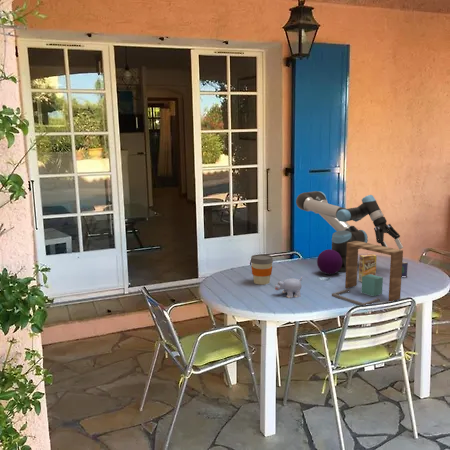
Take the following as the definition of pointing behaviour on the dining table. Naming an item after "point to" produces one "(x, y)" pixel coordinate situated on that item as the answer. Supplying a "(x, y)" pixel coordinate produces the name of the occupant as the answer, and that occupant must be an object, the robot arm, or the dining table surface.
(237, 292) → the dining table surface
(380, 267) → the dining table surface
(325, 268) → the toy ball
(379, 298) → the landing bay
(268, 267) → the reusable coffee cup
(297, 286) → the hippopotamus toy
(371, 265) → the candy box
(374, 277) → the teal block
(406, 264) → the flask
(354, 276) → the tunnel
